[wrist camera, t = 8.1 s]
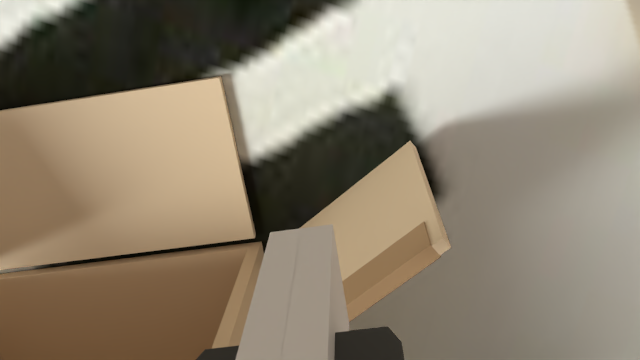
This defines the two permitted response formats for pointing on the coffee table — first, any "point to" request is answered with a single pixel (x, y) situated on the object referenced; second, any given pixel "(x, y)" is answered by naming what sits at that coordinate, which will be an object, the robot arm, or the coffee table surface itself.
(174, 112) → the carton
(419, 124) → the coffee table surface
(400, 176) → the flap
